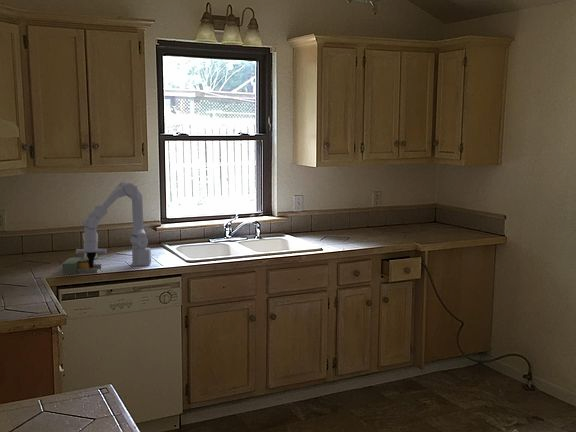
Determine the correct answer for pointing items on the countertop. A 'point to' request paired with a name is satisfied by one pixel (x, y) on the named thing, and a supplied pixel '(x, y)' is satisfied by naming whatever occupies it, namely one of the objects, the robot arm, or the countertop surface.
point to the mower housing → (77, 267)
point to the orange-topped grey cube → (84, 263)
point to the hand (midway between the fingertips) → (91, 267)
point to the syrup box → (84, 248)
